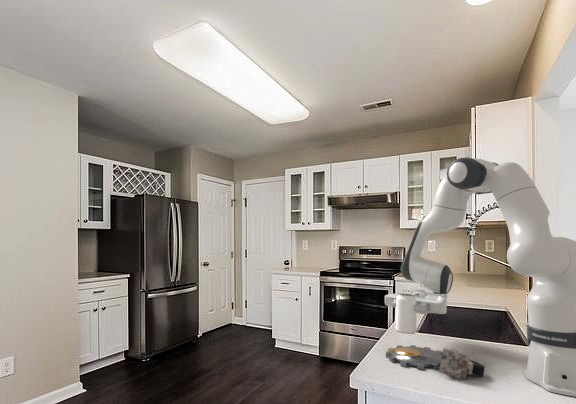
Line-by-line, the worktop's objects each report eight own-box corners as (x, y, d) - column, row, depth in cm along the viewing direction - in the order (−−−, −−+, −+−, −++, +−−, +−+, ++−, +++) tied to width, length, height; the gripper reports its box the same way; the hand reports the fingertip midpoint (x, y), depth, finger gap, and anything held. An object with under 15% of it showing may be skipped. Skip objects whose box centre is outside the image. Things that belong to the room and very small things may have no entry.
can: (405, 329, 118) (406, 293, 120) (420, 333, 112) (421, 296, 114) (391, 329, 116) (392, 292, 117) (405, 334, 110) (406, 295, 112)
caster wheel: (480, 380, 101) (484, 388, 92) (439, 365, 106) (439, 372, 97) (484, 356, 102) (488, 362, 93) (443, 343, 107) (443, 348, 98)
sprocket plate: (457, 357, 112) (457, 353, 112) (435, 375, 98) (435, 370, 98) (401, 345, 125) (401, 340, 125) (375, 358, 111) (374, 354, 111)
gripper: (394, 288, 132) (376, 293, 122) (450, 295, 118) (435, 301, 108) (394, 305, 131) (376, 311, 121) (451, 314, 117) (435, 321, 107)
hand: (404, 306), depth 114 cm, fingers closed on can, 6 cm apart
